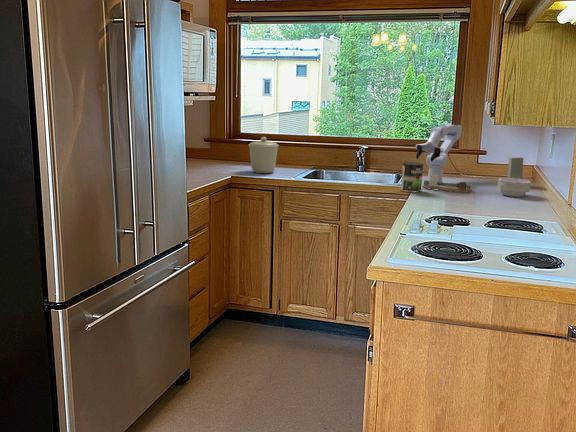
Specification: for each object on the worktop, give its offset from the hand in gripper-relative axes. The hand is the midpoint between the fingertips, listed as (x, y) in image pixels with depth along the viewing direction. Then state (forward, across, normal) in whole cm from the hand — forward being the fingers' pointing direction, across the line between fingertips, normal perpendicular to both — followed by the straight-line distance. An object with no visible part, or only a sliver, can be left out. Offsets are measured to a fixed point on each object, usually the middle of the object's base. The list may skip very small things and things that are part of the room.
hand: (424, 158), depth 286 cm
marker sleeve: (+4, +6, +14) cm, 16 cm away
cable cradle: (+4, +13, +15) cm, 20 cm away
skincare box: (-28, +40, +33) cm, 60 cm away
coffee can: (+17, -1, +8) cm, 19 cm away
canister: (+20, -92, +16) cm, 95 cm away
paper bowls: (-2, +45, +16) cm, 48 cm away
